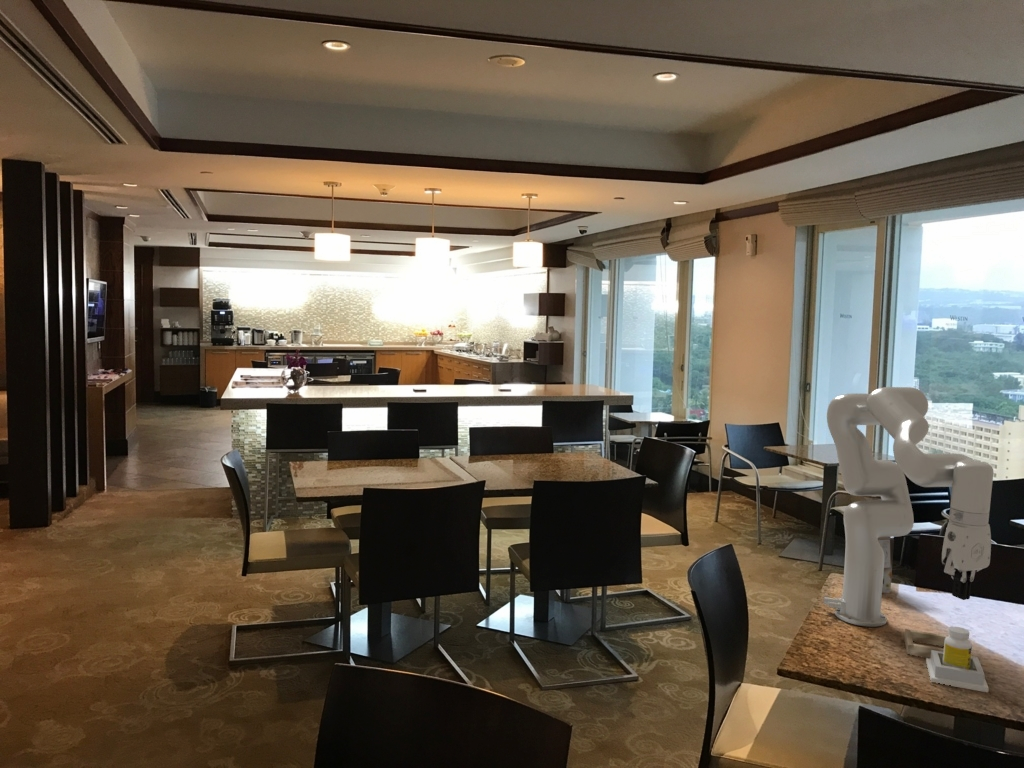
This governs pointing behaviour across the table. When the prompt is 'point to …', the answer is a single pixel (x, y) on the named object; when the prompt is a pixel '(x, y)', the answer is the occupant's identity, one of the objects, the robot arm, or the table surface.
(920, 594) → the table surface
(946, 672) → the socket
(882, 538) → the coffee box
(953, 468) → the robot arm
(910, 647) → the beige square frame
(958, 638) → the supplement bottle
